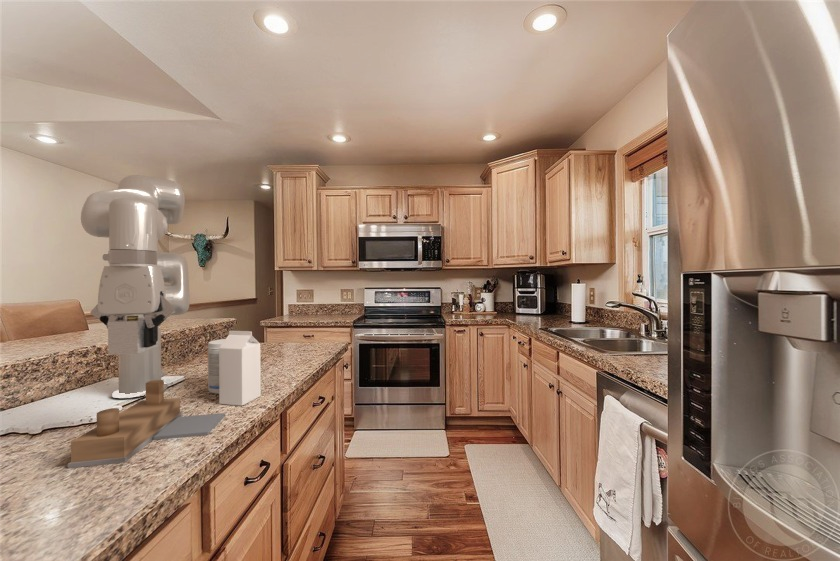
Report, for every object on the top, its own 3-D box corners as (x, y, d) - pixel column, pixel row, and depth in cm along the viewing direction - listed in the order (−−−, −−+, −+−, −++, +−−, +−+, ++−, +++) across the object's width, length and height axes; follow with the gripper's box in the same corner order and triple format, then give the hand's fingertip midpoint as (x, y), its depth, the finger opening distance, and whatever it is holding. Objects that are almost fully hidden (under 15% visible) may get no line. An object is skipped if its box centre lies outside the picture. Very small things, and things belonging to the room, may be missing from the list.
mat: (178, 419, 76) (178, 417, 76) (225, 415, 79) (225, 413, 79) (153, 439, 67) (153, 437, 67) (207, 434, 69) (207, 431, 69)
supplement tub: (249, 389, 98) (248, 340, 98) (212, 397, 91) (212, 345, 91) (239, 382, 104) (239, 336, 104) (204, 389, 98) (204, 340, 98)
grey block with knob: (131, 347, 71) (131, 314, 71) (157, 346, 72) (157, 313, 72) (108, 354, 64) (108, 317, 64) (137, 353, 65) (137, 317, 65)
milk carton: (242, 406, 84) (242, 333, 84) (219, 404, 86) (218, 332, 86) (260, 396, 91) (260, 329, 91) (239, 395, 93) (238, 328, 93)
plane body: (141, 419, 77) (140, 379, 77) (182, 415, 79) (181, 376, 79) (67, 468, 57) (67, 414, 57) (125, 462, 59) (124, 409, 59)
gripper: (69, 258, 62) (70, 352, 62) (170, 259, 66) (171, 348, 66) (99, 260, 70) (99, 345, 70) (188, 261, 73) (189, 341, 73)
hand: (134, 345), depth 68 cm, fingers closed on grey block with knob, 5 cm apart
